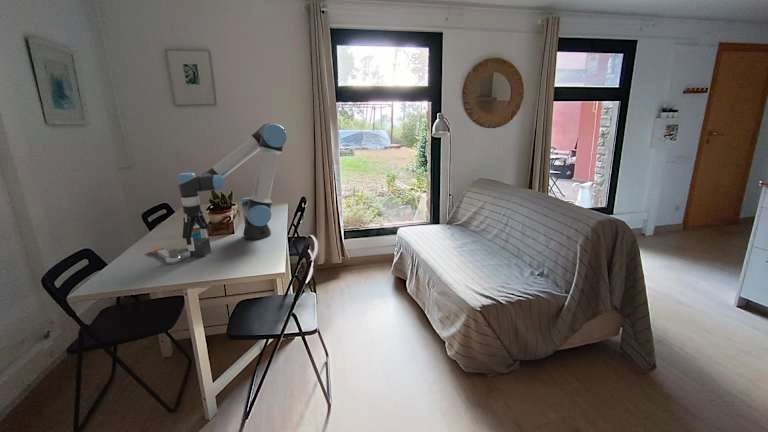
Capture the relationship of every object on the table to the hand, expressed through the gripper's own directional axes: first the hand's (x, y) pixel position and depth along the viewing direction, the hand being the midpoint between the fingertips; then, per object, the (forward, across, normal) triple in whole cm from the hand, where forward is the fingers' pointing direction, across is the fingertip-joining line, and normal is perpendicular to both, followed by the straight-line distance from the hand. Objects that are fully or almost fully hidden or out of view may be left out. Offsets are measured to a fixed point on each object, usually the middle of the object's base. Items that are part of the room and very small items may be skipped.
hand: (198, 245), depth 173 cm
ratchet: (+5, +1, -17) cm, 18 cm away
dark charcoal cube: (+5, 0, 0) cm, 5 cm away
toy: (+5, -13, -6) cm, 16 cm away
